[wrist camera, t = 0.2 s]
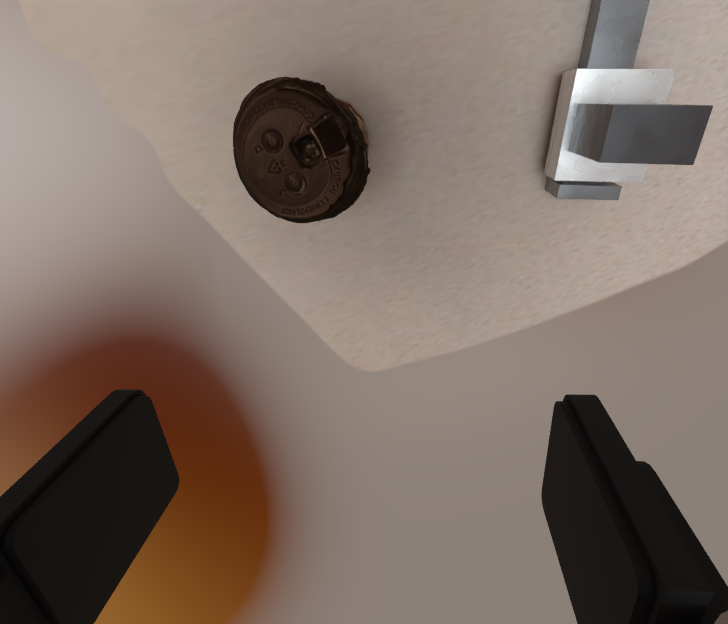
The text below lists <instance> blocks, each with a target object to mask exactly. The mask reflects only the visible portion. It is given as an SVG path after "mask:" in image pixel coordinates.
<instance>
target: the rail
mask: <svg viewBox="0 0 728 624" xmlns="http://www.w3.org/2000/svg"><path fill="white" fill-rule="evenodd" d="M649 1H650V0H592V3H591V8H590V13H589V18H588V23H587V28H586V33H585V38H584V43H583V47H582V52H581V57H580V62H579V67H578V69H632V68H633V65H634V61H635V57H636V53H637V49H638V45H639V41H640V37H641V33H642V29H643V25H644V21H645V17H646V13H647V9H648V5H649ZM621 188H622V186H619V185H617V184H615V183H613V182H596V181H560V180H553V179H552V178H550V177H547V181H546V186H545V190H547V191H548V192H549V193H551V194H552V195H553V196H555V197H556V198H564V199H595V200H618V199H619V195H620V191H621Z"/></svg>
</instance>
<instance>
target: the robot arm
mask: <svg viewBox="0 0 728 624" xmlns="http://www.w3.org/2000/svg"><path fill="white" fill-rule="evenodd" d="M178 485H179V475H178V472H177V470H176V467H175V464H174V461H173V458H172V456H171V453H170V450H169V448H168V445H167V442H166V439H165V436H164V434H163V431H162V428H161V425H160V422H159V420H158V417H157V414H156V411H155V408H154V406H153V403H152V400H151V399H150V398H149V397H148V396H146V395H145V393H144V392H143V391H141V390H115V391H113V392H112V393H110V394H109V395H108V396H107V397H106V398H105V399H104V400H103V401H102V402H101V403H100V404H99V405H98V406H97V407H96V408H94V409H93V410H92V411H91V412H90V413H89V414H88V415H87V416H86V417H85V418H84V419H83V420H82V421H81V422H79V423H78V425H76V426H75V427H74V428H73V429H72V430H71V431H70V432H69V433H68V434H67V435H66V436H65V437H63V438H62V440H60V441H59V443H57V444H56V445H55V446H54V447H53V448H52V449H51V450H50V451H49V452H48V453H47V454H45V455H44V456H43V458H41V459H40V460H39V461H38V462H37V463H36V464H35V465H34V466H33V467H32V468H31V469H29V470H28V471H27V472H26V473H25V474H24V475H23V476H22V477H21V478H20V479H19V480H18V481H17V482H16V483H15V484H14V485H12V486H11V487H10V488H9V489H8V490H7V491H6V492H5V493H4V494H3V495H2V496H1V497H0V624H93V623H94V622H95V621H96V619H97V617H98V616H99V614H100V613H101V611H102V609H103V608H104V606H105V605H106V603H107V601H108V600H109V598H110V597H111V595H112V593H113V592H114V590H115V589H116V587H117V586H118V584H119V582H120V581H121V579H122V578H123V576H124V574H125V573H126V571H127V569H128V568H129V566H130V565H131V563H132V562H133V560H134V558H135V557H136V555H137V553H138V552H139V550H140V549H141V547H142V546H143V544H144V542H145V541H146V539H147V538H148V536H149V534H150V533H151V531H152V530H153V528H154V527H155V525H156V523H157V522H158V520H159V518H160V517H161V515H162V514H163V512H164V510H165V509H166V507H167V506H168V504H169V503H170V501H171V499H172V498H173V496H174V495H175V493H176V491H177V489H178ZM542 505H543V509H544V513H545V516H546V520H547V523H548V526H549V530H550V533H551V536H552V539H553V543H554V546H555V550H556V553H557V556H558V560H559V563H560V566H561V570H562V573H563V576H564V580H565V583H566V586H567V590H568V593H569V596H570V600H571V603H572V606H573V610H574V613H575V616H576V620H577V623H578V624H728V586H727V585H726V583H725V582H724V580H723V578H722V577H721V575H720V574H719V572H718V570H717V569H716V567H715V566H714V564H713V563H712V561H711V560H710V558H709V556H708V555H707V553H706V552H705V550H704V548H703V547H702V545H701V544H700V542H699V540H698V539H697V537H696V536H695V534H694V533H693V531H692V529H691V528H690V526H689V525H688V523H687V521H686V520H685V518H684V517H683V515H682V514H681V512H680V510H679V509H678V507H677V506H676V504H675V502H674V501H673V499H672V498H671V496H670V494H669V493H668V491H667V490H666V488H665V486H664V485H663V483H662V482H661V480H660V479H659V477H658V476H657V474H656V472H655V471H654V470H653V469H652V467H651V466H650V465H649V464H647V463H646V462H641V461H636V460H635V459H634V457H633V455H632V454H631V452H630V450H629V448H628V447H627V445H626V443H625V442H624V440H623V439H622V437H621V435H620V433H619V432H618V430H617V428H616V427H615V425H614V423H613V422H612V420H611V418H610V417H609V415H608V413H607V411H606V410H605V408H604V406H603V405H602V403H601V402H600V400H599V398H598V397H597V396H595V395H565V397H564V399H563V401H557V402H556V403H555V405H554V411H553V417H552V425H551V431H550V438H549V445H548V452H547V458H546V465H545V472H544V479H543V485H542Z"/></svg>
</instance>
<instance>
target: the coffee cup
mask: <svg viewBox="0 0 728 624" xmlns="http://www.w3.org/2000/svg"><path fill="white" fill-rule="evenodd" d="M233 147H234V158H235V164H236V168H237V171H238V174H239V177H240V179H241V181H242V183H243V184H244V186H245V188H246V190H247V191H248V193H249V194H250V196H251V197H252V198H253V199H254V200H255V201H256V202H257V203H258V204H259V205H260V206H261V207H263V208H264V209H266V210H267V211H268V212H269V213H271V214H273V215H274V216H276V217H278V218H282V219H284V220H287V221H291V222H295V223H309V222H314V221H320V220H324V219H328V218H333V217H336V216H337V215H338V214H340V213H342V212H343V211H345V210H347V209H348V208H349V207H350V206H351V205H353V204H354V202H355V201H356V200H357V199H358V198H359V196H360V194H361V192H363V190H364V186H365V185H366V183H367V176H368V174H369V173H370V168H368V160H367V158H368V136H367V130H366V127H365V125H364V122H363V119H362V116H361V115H360V114H359V113H358V112H357V111H356V110H355V108H354V107H353V105H352V104H351V103H349V102H346V101H341V100H339V99H337V98H335V97H334V96H333V95H331V94H330V93H329V92H328V91H326V88H325V86H324V85H321V84H320V83H317V82H313V81H307V80H301V79H299V78H290V77H280V78H276V79H272V80H268V81H266V82H264V83H261V84H259V85H258V86H256V87H255V88H254V89H253V90H252V91H251V92H250V93H249V94H248V95H247V96H246V97H245V98H244V100H243V101H242V104H241V106H240V110H239V112H238V114H237V116H236V118H235V122H234V131H233Z"/></svg>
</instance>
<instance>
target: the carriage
mask: <svg viewBox="0 0 728 624" xmlns="http://www.w3.org/2000/svg"><path fill="white" fill-rule="evenodd" d="M675 71H676V69H574V70H568V71H566V72H563V75H562V81H561V86H560V91H559V96H558V102H557V107H556V112H555V117H554V123H553V128H552V133H551V138H550V144H549V149H548V154H547V159H546V165H545V170H544V172H545V173H546V175H547V176H548V177H550V178H552V179H553V180H560V181H596V182H632V183H643V180H644V177H645V173H646V170H647V167H648V164H676V165H693V164H694V161H695V158H696V155H697V152H698V149H699V146H700V143H701V140H702V137H703V134H704V131H705V128H706V125H707V122H708V119H709V117H710V114H711V111H712V108H713V106H708V105H672V104H666V102H667V98H668V95H669V92H670V88H671V85H672V81H673V78H674V75H675Z"/></svg>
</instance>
